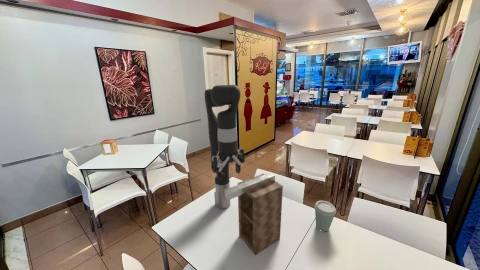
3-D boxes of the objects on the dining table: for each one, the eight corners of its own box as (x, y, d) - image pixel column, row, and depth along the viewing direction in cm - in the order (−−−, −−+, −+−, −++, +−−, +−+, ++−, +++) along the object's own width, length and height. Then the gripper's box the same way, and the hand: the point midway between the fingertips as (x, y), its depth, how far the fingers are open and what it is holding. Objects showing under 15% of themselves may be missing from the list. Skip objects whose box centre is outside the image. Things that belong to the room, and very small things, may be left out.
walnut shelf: (255, 255, 92) (255, 197, 83) (239, 235, 104) (237, 183, 94) (279, 239, 101) (282, 185, 91) (262, 223, 112) (263, 173, 102)
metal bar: (228, 199, 82) (228, 193, 81) (224, 195, 84) (224, 189, 83) (275, 180, 95) (275, 175, 94) (270, 177, 98) (270, 172, 97)
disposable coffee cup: (329, 221, 112) (332, 199, 107) (336, 236, 102) (340, 212, 97) (310, 220, 113) (312, 198, 108) (315, 235, 103) (318, 211, 98)
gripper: (215, 145, 68) (218, 185, 73) (248, 137, 76) (248, 174, 81) (206, 139, 74) (209, 177, 79) (237, 132, 82) (238, 167, 87)
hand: (229, 175), depth 80 cm, fingers open, 8 cm apart
